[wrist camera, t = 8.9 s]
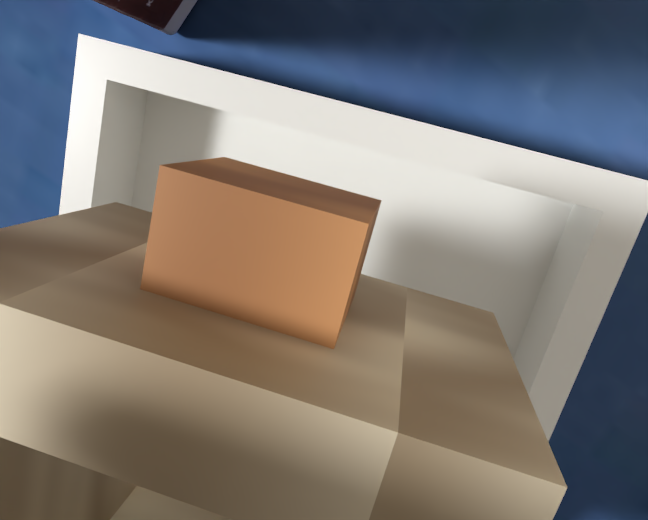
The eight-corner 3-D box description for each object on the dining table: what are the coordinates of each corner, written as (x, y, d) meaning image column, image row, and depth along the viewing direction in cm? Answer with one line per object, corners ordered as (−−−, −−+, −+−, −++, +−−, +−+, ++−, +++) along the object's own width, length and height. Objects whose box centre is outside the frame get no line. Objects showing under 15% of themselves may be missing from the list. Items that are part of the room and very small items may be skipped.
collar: (524, 228, 8) (638, 330, 4) (380, 619, 11) (355, 948, 6) (127, 119, 9) (-137, 107, 5) (74, 507, 11) (-135, 735, 7)
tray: (452, 571, 16) (458, 648, 14) (82, 443, 17) (28, 493, 15) (613, 173, 13) (659, 183, 10) (137, 50, 14) (78, 33, 11)
